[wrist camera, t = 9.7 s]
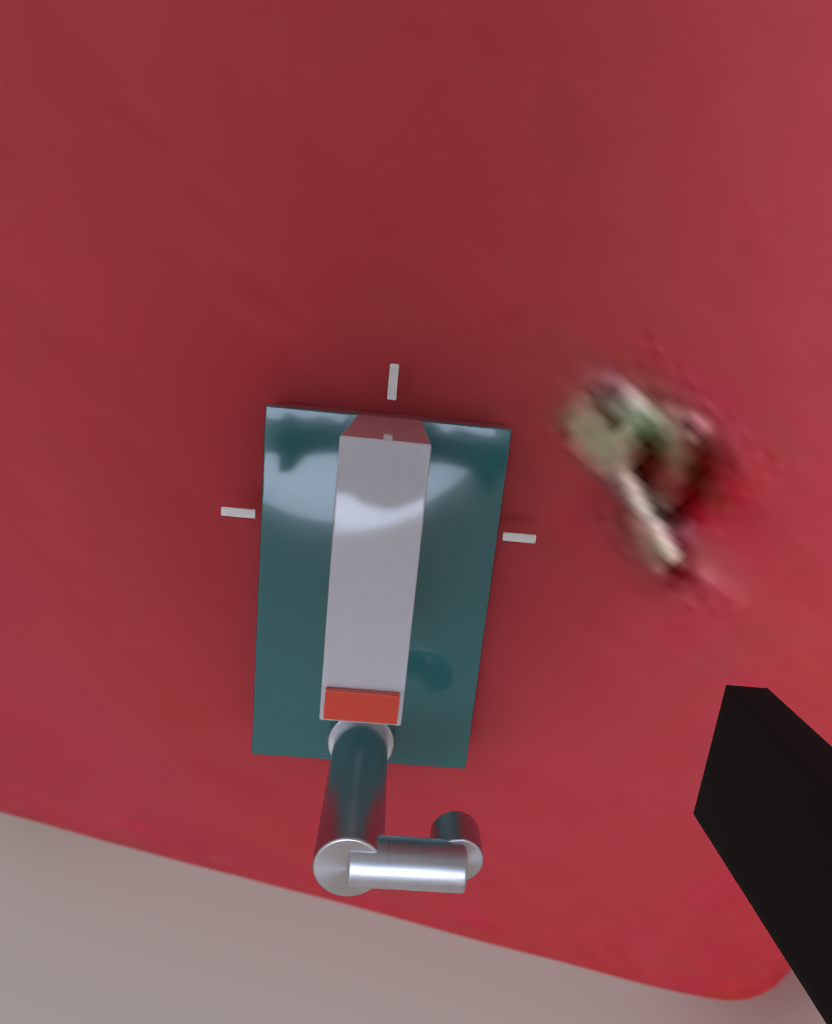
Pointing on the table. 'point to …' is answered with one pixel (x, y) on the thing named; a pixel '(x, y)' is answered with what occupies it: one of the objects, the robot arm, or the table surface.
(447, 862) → the spout
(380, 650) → the white block
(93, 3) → the table surface
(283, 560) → the teal base plate
